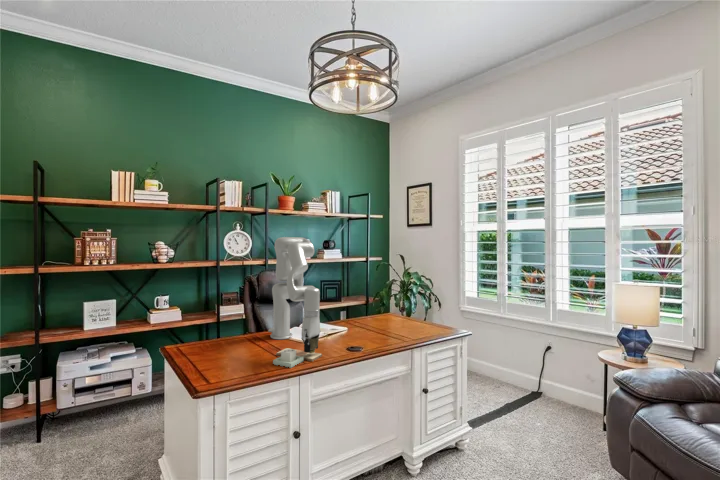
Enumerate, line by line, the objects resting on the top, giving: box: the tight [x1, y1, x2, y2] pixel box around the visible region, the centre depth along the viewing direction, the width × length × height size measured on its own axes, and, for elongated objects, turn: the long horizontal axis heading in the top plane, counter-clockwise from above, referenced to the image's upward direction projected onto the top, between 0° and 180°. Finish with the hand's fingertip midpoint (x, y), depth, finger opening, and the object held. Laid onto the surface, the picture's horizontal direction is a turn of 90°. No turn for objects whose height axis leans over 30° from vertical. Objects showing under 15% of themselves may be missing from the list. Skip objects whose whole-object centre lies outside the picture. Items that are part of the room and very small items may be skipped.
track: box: [275, 347, 323, 363], centre depth 183 cm, size 21×9×1 cm, turn 65°
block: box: [280, 348, 297, 363], centre depth 173 cm, size 5×5×5 cm
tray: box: [272, 356, 305, 369], centre depth 172 cm, size 10×10×2 cm
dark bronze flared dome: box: [306, 335, 320, 353], centre depth 180 cm, size 8×7×8 cm
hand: (311, 349), depth 180 cm, fingers closed on dark bronze flared dome, 6 cm apart
